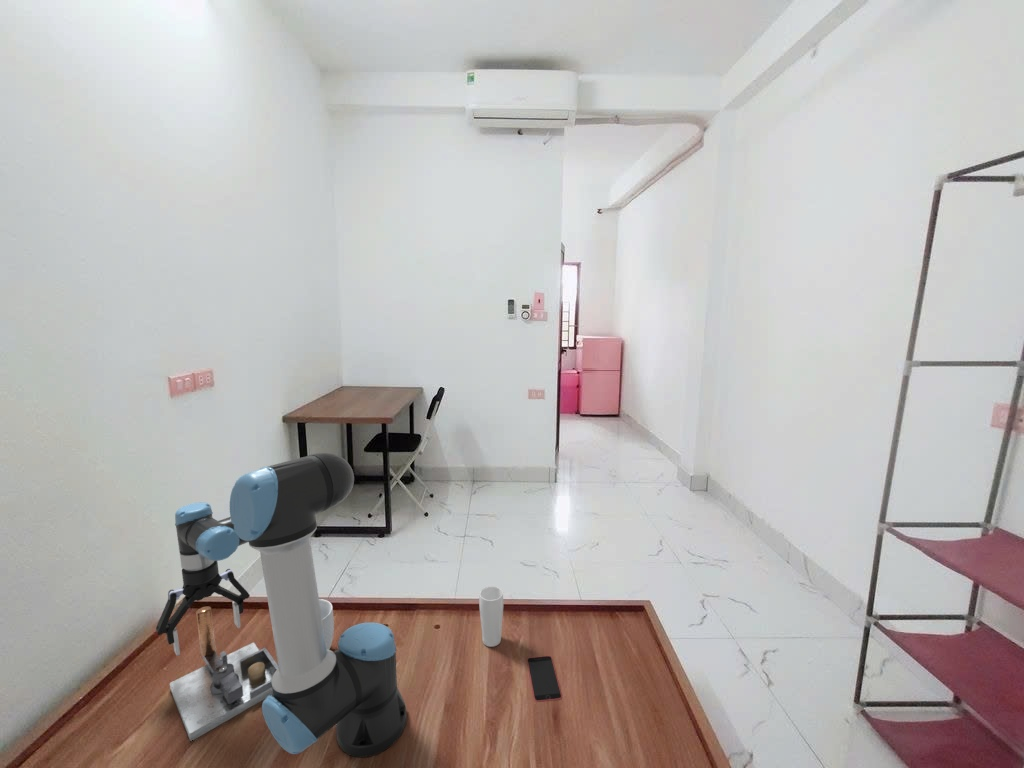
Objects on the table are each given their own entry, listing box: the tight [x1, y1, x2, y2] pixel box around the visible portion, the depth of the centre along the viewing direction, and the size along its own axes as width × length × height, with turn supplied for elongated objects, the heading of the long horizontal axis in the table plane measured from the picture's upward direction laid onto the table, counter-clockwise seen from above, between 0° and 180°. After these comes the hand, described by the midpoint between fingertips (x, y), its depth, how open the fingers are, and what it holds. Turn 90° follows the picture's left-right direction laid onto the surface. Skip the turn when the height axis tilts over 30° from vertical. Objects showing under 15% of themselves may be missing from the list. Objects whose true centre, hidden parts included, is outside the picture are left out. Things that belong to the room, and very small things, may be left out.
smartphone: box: [526, 655, 563, 703], centre depth 115 cm, size 7×1×14 cm
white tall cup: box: [478, 585, 504, 648], centre depth 127 cm, size 7×7×15 cm
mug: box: [319, 598, 335, 650], centre depth 120 cm, size 15×11×13 cm
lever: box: [195, 606, 243, 704], centre depth 111 cm, size 22×4×14 cm, turn 49°
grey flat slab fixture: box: [169, 642, 278, 742], centre depth 111 cm, size 20×19×6 cm
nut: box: [248, 662, 266, 685], centre depth 112 cm, size 4×4×3 cm
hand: (208, 638), depth 118 cm, fingers open, 13 cm apart
